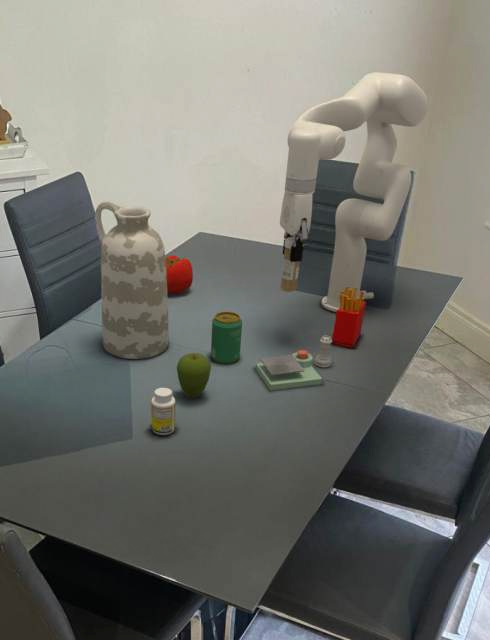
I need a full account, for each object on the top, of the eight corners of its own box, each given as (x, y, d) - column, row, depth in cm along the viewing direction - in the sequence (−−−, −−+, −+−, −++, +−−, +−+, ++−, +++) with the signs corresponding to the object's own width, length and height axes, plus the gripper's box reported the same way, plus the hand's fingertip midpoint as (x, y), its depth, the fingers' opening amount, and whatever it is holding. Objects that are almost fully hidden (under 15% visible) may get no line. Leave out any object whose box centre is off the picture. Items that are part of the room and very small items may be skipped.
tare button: (304, 355, 198) (305, 349, 197) (308, 359, 196) (309, 353, 195) (295, 356, 197) (296, 350, 196) (299, 360, 195) (300, 354, 194)
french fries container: (329, 344, 210) (336, 296, 201) (337, 331, 217) (344, 285, 208) (353, 348, 208) (362, 300, 199) (361, 335, 214) (369, 289, 206)
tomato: (199, 288, 242) (200, 256, 236) (178, 301, 234) (179, 269, 227) (164, 279, 248) (164, 248, 242) (143, 292, 239) (142, 260, 233)
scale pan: (291, 356, 197) (292, 354, 196) (304, 371, 190) (304, 370, 190) (259, 359, 195) (260, 358, 195) (271, 375, 188) (271, 374, 188)
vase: (179, 337, 213) (180, 199, 189) (151, 365, 200) (149, 220, 176) (116, 325, 220) (111, 190, 196) (86, 351, 207) (76, 210, 183)
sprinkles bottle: (300, 290, 200) (306, 239, 192) (287, 293, 198) (293, 243, 190) (289, 284, 203) (294, 235, 195) (276, 288, 201) (281, 238, 193)
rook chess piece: (332, 362, 201) (336, 334, 196) (329, 369, 198) (333, 341, 193) (315, 359, 202) (319, 332, 198) (312, 367, 199) (316, 339, 194)
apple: (198, 407, 183) (200, 365, 175) (169, 398, 186) (170, 356, 179) (215, 392, 188) (217, 351, 181) (187, 384, 192) (188, 343, 185)
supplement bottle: (161, 421, 178) (161, 383, 171) (179, 428, 175) (180, 390, 169) (146, 430, 174) (146, 392, 168) (164, 438, 172) (164, 400, 165)
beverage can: (223, 348, 208) (226, 308, 200) (245, 358, 203) (248, 316, 196) (204, 358, 203) (206, 316, 196) (226, 367, 199) (228, 325, 191)
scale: (306, 362, 201) (308, 351, 199) (324, 384, 192) (326, 372, 190) (254, 368, 199) (255, 356, 196) (270, 390, 189) (271, 378, 187)
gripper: (274, 177, 190) (268, 248, 202) (298, 195, 177) (289, 270, 189) (302, 175, 191) (294, 246, 203) (327, 193, 179) (317, 268, 190)
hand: (292, 257), depth 196 cm, fingers closed on sprinkles bottle, 4 cm apart
